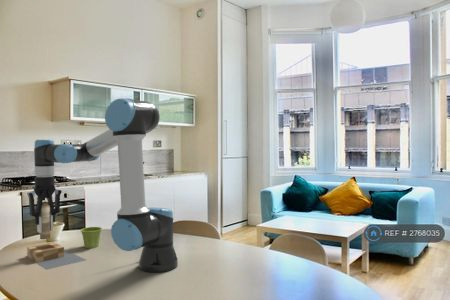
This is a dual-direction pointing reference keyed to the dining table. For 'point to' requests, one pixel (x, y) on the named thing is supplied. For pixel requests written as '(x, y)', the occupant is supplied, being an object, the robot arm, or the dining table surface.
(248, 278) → the dining table surface
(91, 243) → the plant pot
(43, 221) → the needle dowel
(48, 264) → the mat
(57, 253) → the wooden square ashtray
